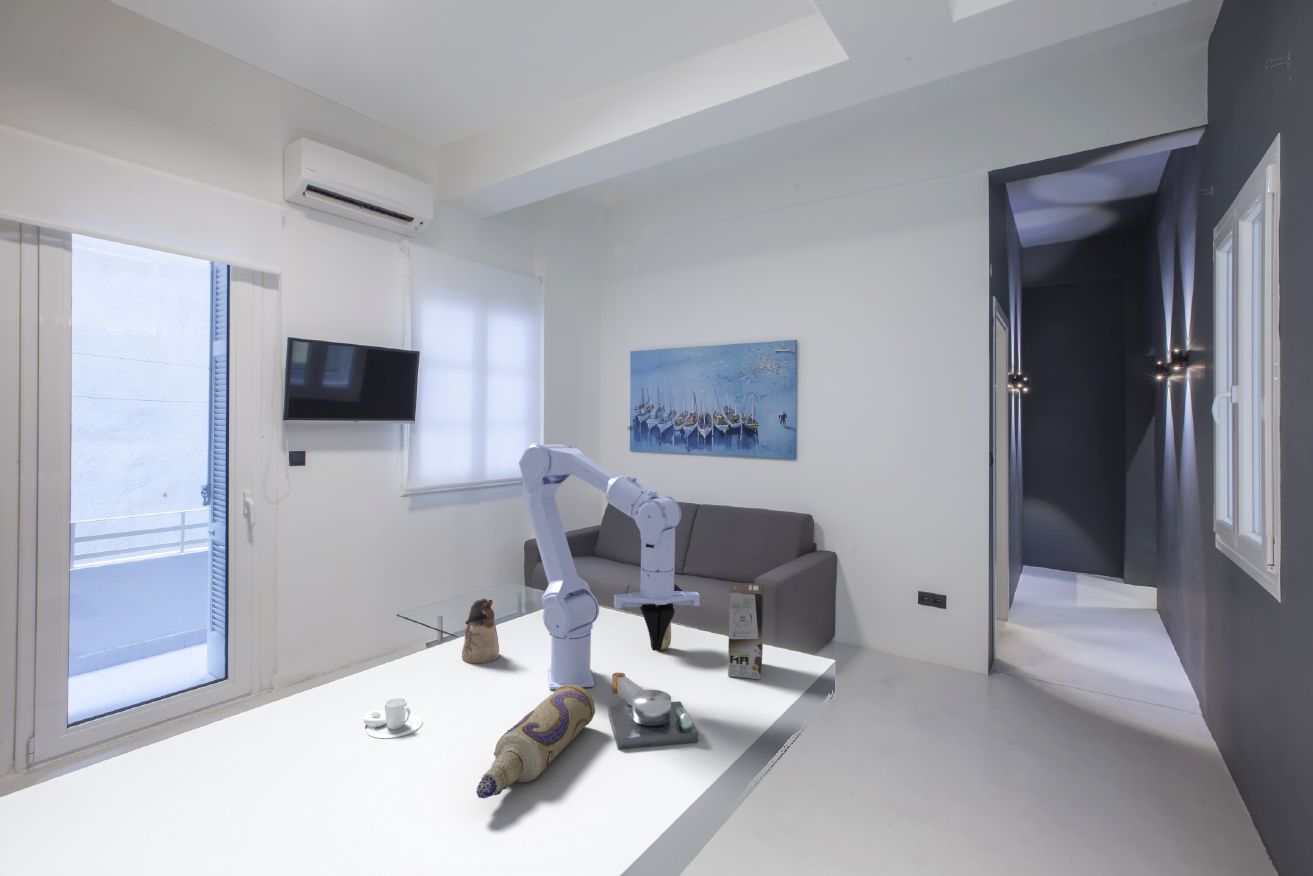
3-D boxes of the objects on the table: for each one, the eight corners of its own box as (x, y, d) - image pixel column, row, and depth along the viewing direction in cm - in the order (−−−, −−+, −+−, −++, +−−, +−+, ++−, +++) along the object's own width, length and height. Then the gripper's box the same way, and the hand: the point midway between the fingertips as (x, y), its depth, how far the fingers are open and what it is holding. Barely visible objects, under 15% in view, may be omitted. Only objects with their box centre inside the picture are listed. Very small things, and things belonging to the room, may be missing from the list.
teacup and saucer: (355, 727, 97) (355, 700, 97) (405, 711, 103) (406, 686, 103) (380, 747, 91) (380, 719, 91) (431, 729, 97) (432, 702, 97)
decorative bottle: (552, 721, 100) (553, 679, 99) (596, 729, 97) (597, 686, 97) (449, 812, 75) (451, 756, 75) (504, 826, 73) (505, 769, 73)
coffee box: (761, 680, 117) (762, 594, 117) (727, 677, 119) (728, 591, 119) (763, 663, 126) (764, 583, 126) (731, 660, 128) (732, 581, 127)
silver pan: (678, 720, 96) (678, 700, 96) (644, 729, 93) (644, 709, 93) (630, 685, 109) (631, 668, 109) (599, 692, 106) (600, 674, 106)
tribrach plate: (608, 715, 101) (608, 694, 101) (680, 710, 104) (680, 689, 104) (617, 749, 91) (618, 725, 91) (697, 742, 93) (698, 718, 93)
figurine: (483, 649, 132) (484, 592, 132) (506, 656, 128) (507, 597, 128) (455, 658, 126) (456, 598, 126) (477, 666, 122) (478, 604, 122)
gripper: (618, 575, 101) (617, 659, 101) (705, 572, 104) (703, 654, 104) (612, 565, 108) (611, 644, 108) (694, 564, 111) (692, 640, 111)
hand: (656, 648), depth 106 cm, fingers closed
